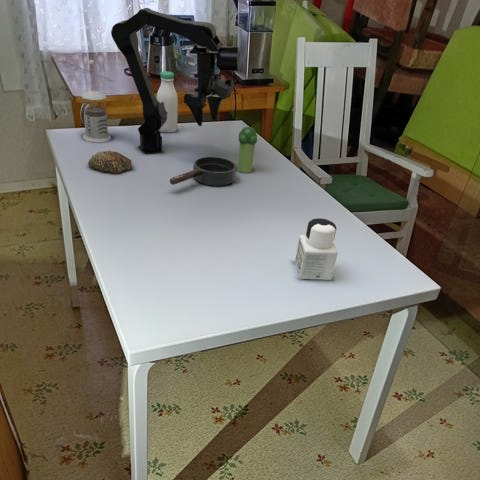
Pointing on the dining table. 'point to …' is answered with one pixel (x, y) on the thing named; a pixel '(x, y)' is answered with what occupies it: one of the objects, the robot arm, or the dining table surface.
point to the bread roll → (110, 162)
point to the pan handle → (186, 176)
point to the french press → (99, 123)
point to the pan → (215, 171)
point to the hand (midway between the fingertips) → (207, 122)
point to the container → (317, 250)
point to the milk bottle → (168, 101)
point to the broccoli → (246, 149)
